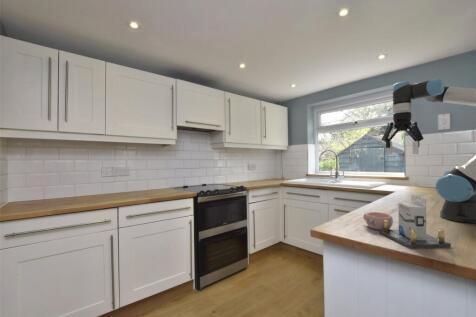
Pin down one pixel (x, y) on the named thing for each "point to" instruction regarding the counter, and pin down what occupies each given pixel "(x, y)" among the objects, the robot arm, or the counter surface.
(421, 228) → the ink box
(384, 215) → the pink bowl
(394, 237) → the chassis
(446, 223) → the counter surface
